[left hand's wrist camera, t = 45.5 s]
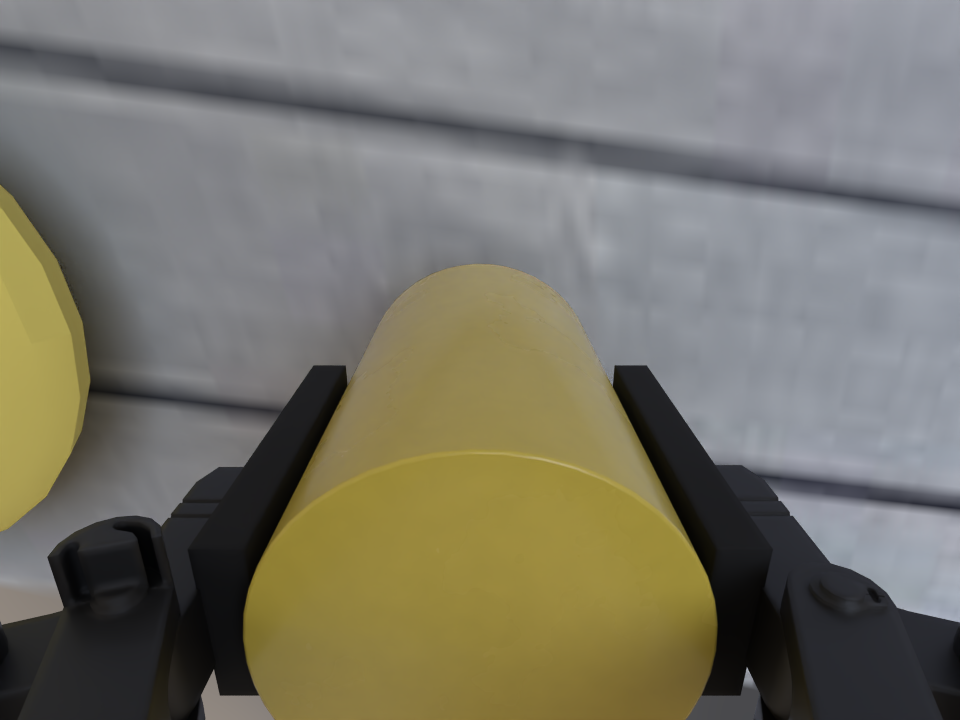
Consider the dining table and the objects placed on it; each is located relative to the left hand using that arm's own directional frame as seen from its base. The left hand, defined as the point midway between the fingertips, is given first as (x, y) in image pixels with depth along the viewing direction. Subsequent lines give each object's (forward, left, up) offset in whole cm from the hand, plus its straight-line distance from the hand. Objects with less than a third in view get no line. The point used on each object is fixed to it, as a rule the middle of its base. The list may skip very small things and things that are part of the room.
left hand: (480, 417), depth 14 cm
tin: (0, 0, -3) cm, 3 cm away
